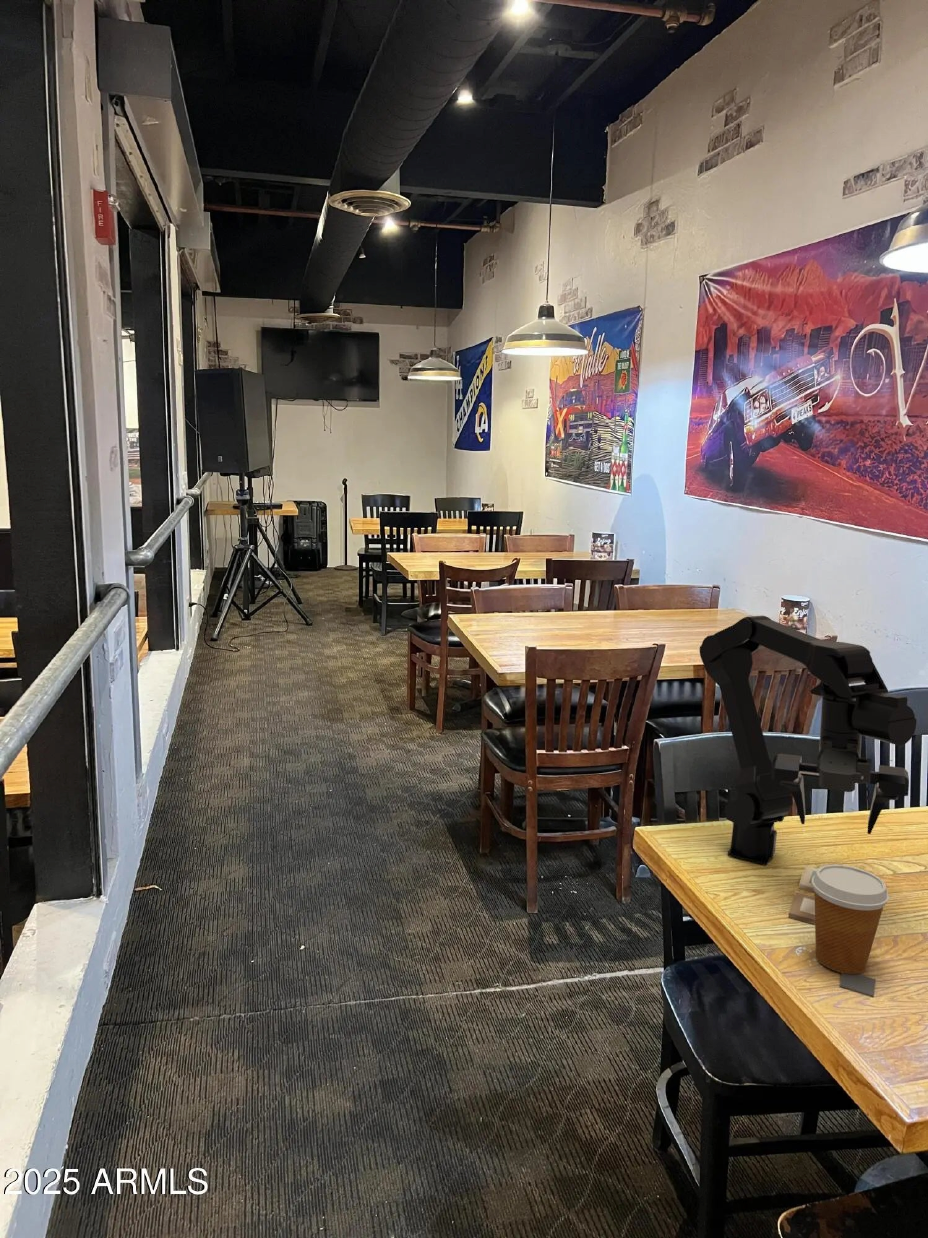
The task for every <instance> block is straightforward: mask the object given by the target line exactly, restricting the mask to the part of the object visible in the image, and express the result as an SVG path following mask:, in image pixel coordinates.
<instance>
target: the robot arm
mask: <svg viewBox="0 0 928 1238" xmlns="http://www.w3.org/2000/svg"><path fill="white" fill-rule="evenodd" d="M762 647H764V648H766V649H769V650H771V651H773V652H775V653H778V654H780V655H781V656H783V657H787V658H789V659H791V660H793V661H795V662H798V663H800V664H802V665H803V666H805V667H806V669H807V671H808V673H809V674H810V675H811V676H813V677H814V678H816V679H817V680H818V681H820V682H819V683H818V684H817V685H816V686H814V687H812V688H811V689H810V690H809V692H810V694H811V695H814V696H817V697H821V707H820V708H821V710H820V727H819V729H820V730H819V749H818V751H819V752H818V754H817V762H816V764H815V763H806V762H802V761H803V760H802V755H798V754H797V755H794V754H787V753H777V755H775V756H774V758H773V761H771V758H770V754H769V751H768V747H767V744H766V740H765V736H764V732H763V729H762V728H763V727H762V726H761V722H760V718H759V714H758V710H757V707H756V702H755V699H754V696H753V692H752V687H751V684H750V676H751V673H752V669H753V666H754V660H753V654H754V653H756V651H758V650H760V649H761V648H762ZM699 656H700V659H701V661H702V664H703V666H704V670H705V671H706V673H707V675H708V676H709V677H710V678H711V679H712V680H713V682H714V683H715V684H716V685H717V686H718V687H719V690H720V693H721V698H722V701H723V705H724V708H725V712H726V716H727V721H728V723H729V729H730V730H731V731H730V732H731V735H732V738H733V743H734V747H735V750H736V755H737V758H738V762H739V765H740V769H739V774H738V779H737V782H736V784H735V785H736V787H735V788H736V793H737V794H736V795H737V798H735V799H733V801H731V802H730V803H728V804H726V805H725V806H724V814H725V817H726V820H727V821H729V822H731V823H732V833H731V842H730V848H729V850H728V852H727V855H728V857H733V858H736V859H739V860H745V861H749V862H751V863H756V864H760V865H763V866H767V865H768V863H769V862H770V860H771V859H773V858H774V854H775V852H776V847H777V844H776V843H777V837H778V836H777V835H778V831H777V830H775V823H781V822H783V821H784V819H785V817H786V815H788V813H789V812H790V810H791V808H792V807H793V805H794V804H795V807H796V810H797V813H798V816H799V820H800V822H801V825H805V823H806V803H805V802H806V801H805V800H806V799H805V787H804V786H805V784H804V776H806V777H813V778H818V786H819V788H821V789H823V790H841V791H843V792H845V793H852V792H854V791H855V790H856V784H859V785H860V784H861V785H864V784H870V785H874V789H873V796H872V798H871V799H872V800H871V804H870V805H871V806H870V808H869V809H870V810H869V815H868V819H867V831H866V832H867V834H868V835H871V834H872V831H873V830H874V827H875V825H876V822H877V821H878V818H879V817H880V814H881V812H882V810H883V809H884V808H885V806H886V804H887V803H889V802H890V801H897V800H898V798H899V797H908V796H909V790H910V789H909V788H910V777H909V776H910V775H909V772H908V771H907V769H906V768H905V767H901V766H891V765H881V764H879V765H878V771H876V770H875V771H874V770H872V759H871V758H867V757H861V751H862V736H863V737H867V738H871V739H873V740H878V741H879V742H884V743H888V744H891V745H895V746H904V745H905V744H907V743H908V742H909V741H910V740H911V739H912V738H913V736H914V734H915V731H916V729H917V719H916V717H915V716H916V714H915V713H914V710H913V708H912V707H910V706H909V705H908V697H907V696H905V695H899V694H898V695H895V694H894V695H893V694H888V693H889V689H888V687H887V685H886V684H885V681H884V680H883V678H882V677H881V674H880V673H879V670H878V668H877V667H876V664H875V663H874V662H873V661H874V660H873V658H872V655H871V651H870V650H869V649H868V648H866V647H865V646H863V645H861V644H854V643H849V642H843V641H834V640H833V641H832V640H831V641H830V640H823V639H820V638H818V637H816V636H812V635H810V634H808V633H805V632H802V631H800V630H798V629H795V628H792V627H790V626H788V625H785V624H782V623H780V622H778V621H775V620H773V619H772V618H771V617H768V616H766V615H752V616H744V617H743V618H741V619H739V620H738V621H737V622H736V623H734V624H732V625H730V626H728V627H726V628H724V629H722V630H720V631H717V632H716V633H714V634H710V635H707V636H706V637H705V638H704V639H703V640H702V643H701V645H700V646H699ZM854 684H855V685H854ZM793 803H794V804H793Z"/></svg>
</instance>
